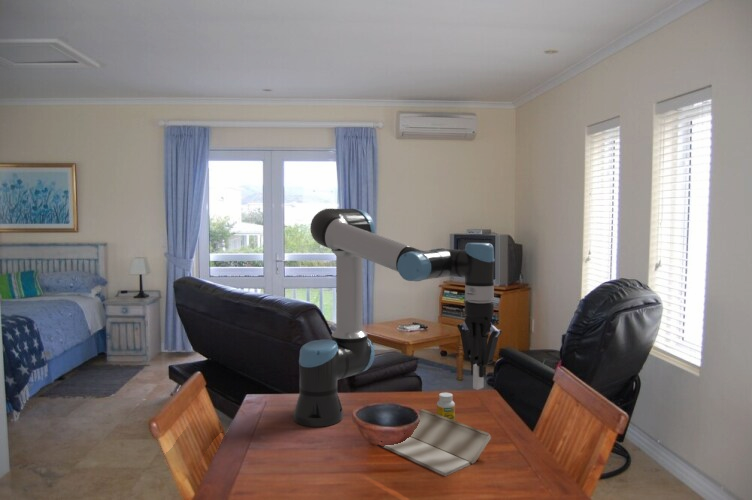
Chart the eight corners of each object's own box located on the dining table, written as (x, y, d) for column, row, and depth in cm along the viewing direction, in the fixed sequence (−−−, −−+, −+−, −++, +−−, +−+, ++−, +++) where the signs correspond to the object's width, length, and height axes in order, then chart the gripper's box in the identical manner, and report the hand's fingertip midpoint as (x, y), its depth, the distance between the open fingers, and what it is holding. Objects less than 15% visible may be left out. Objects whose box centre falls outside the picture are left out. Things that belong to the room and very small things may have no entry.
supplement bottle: (447, 421, 168) (448, 390, 168) (458, 427, 164) (458, 395, 163) (433, 424, 166) (433, 393, 165) (443, 430, 161) (443, 398, 161)
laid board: (377, 447, 149) (378, 441, 149) (403, 437, 156) (403, 432, 156) (445, 479, 131) (445, 473, 131) (471, 466, 138) (471, 461, 138)
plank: (405, 436, 156) (403, 432, 156) (423, 412, 161) (421, 408, 160) (473, 465, 139) (470, 460, 138) (491, 437, 143) (488, 432, 142)
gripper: (451, 299, 149) (450, 385, 150) (491, 305, 139) (490, 396, 141) (468, 296, 154) (467, 380, 155) (508, 302, 144) (507, 390, 146)
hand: (478, 388), depth 148 cm, fingers closed
